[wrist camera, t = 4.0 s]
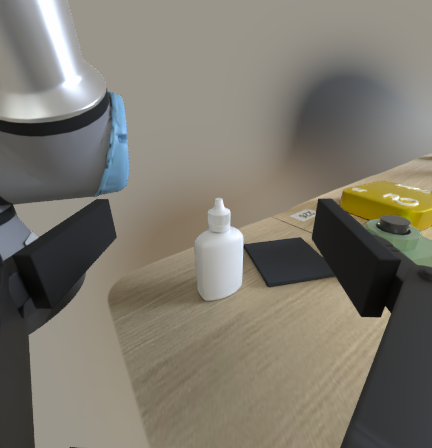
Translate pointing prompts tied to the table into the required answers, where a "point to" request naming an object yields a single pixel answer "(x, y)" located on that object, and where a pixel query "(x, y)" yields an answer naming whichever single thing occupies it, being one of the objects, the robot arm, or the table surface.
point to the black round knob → (394, 224)
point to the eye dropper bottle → (219, 256)
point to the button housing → (406, 243)
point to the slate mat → (287, 261)
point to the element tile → (389, 202)
